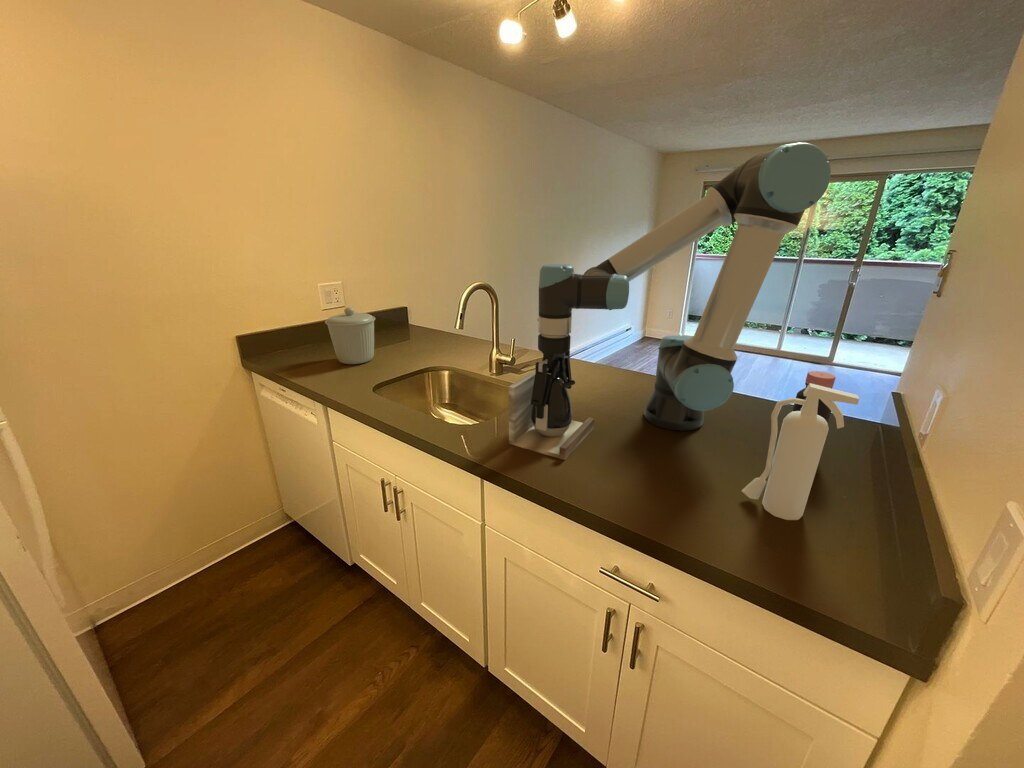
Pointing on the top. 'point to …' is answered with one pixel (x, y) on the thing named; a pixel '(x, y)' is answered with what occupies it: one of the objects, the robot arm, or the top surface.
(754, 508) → the top surface
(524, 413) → the ledge rack
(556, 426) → the pump dispenser
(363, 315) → the canister
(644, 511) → the top surface
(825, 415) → the vinegar
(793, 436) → the fire extinguisher
